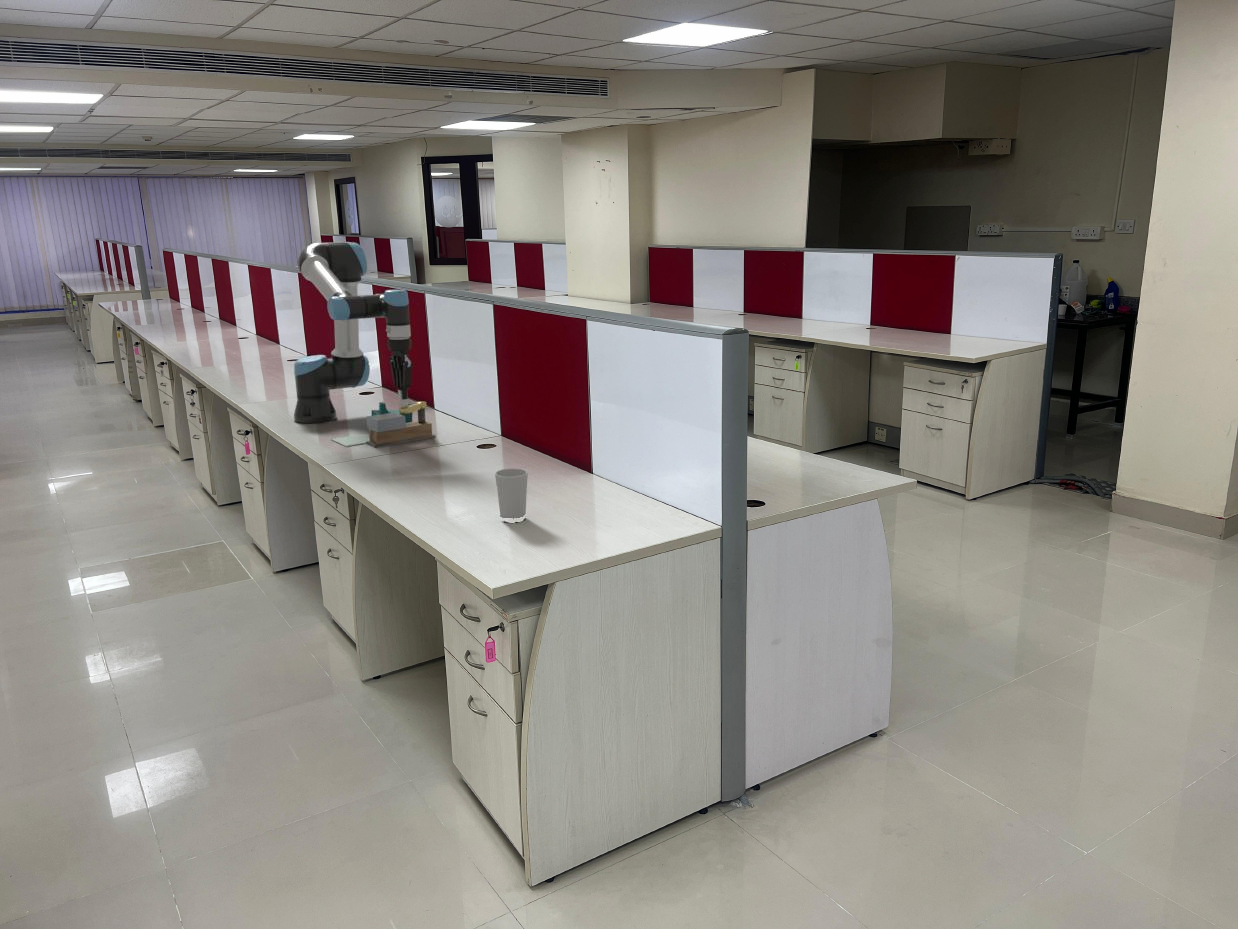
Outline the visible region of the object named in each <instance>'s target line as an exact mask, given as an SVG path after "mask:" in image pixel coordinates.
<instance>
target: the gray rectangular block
mask: <svg viewBox="0 0 1238 929" xmlns="http://www.w3.org/2000/svg"><path fill="white" fill-rule="evenodd" d="M366 427H367V428H366V429H368V430H369V429H370V430H373V431H375V432H384V431H390V430H397V429H403V428H406V421H405V416H403V415H400V414H397V413H387V414H381V415H374V416H371V415H368V416H366Z"/></svg>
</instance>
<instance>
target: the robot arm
mask: <svg viewBox="0 0 1238 929" xmlns="http://www.w3.org/2000/svg"><path fill="white" fill-rule="evenodd" d="M297 266H298V270H299V273H300V274H301V275H302V276H303V278H305V279H304V280H306V281H310V282H311V283H312V284H313V285H314V287H315V288H316V290H318V291H319V293H320V294H321V295H322V296H323V297H324V299H325V300H326V301H327V305H326V306H327V312H328V314H329V315H328V316H329V317H330V319H332V320H333V322H334V324H333V325H334V327H333V328H334V343H335V344H334V346H335V347H334V348H333V350H332V351H331V353H330V355H331V356H330V358H328V357H327V356H326V355H324V354H316V355H310V356H304V357H302V358H299V359H296V361H295V362H294V364H293V365H294V367H293V369H294V370H293V371H294V372H293V374H294V380H295V390H296V404H295V408H294V412H293V419H294V421H295V422H296V423H301V424H316V423H318V424H320V423H326V422H331V421H333V420H336V419H337V417H338V415H337V411H336V408H335V406H334V403H333V402H332V399H331V394H330V392H331V391H330V390H340V389H349V388H350V389H352V388H353V389H354V388H357V387H362V386H365V385H366V384H367V383H368V380H369V378H370V369H371V368H370V366H371V365H370V360H369V358H368V357H367V356H366V355H365V354H364V351H363V350H361V349H360V336H359V335H360V332H359V320H362V319H363V320H364V319H378V318H379V319H380V318H385V325H386V329H385V332H386V337H387V350H388V351H391V356H390V357H389V356H388V363H389V365H390V370H391V376H392V381H393V382H392V383H393V386H394V387H395V388H396V389H397V396H398V397H397V398H398V409H399V408H403V407H406V406H408V402H409V397H408V390H409V389H411V388H412V369H413V365H414V362H413V360H410V359H409V358H410V357H409V354H408V353H409V352H408V351H411V350H412V339H411V336H412V334H411V333H412V332H411V323H410V320H411V319H410V306H409V305H410V301H409V295H408V294H409V293H408V291H407V290H405V289H386V290H384V293H376V294H366V295H365V294H364V295H363V294H362V295H359V294H358V285H359V284H360V283H362V276H364V275H366V274H367V272H368V261H367V256H366V253H365V252H364V250H363V248H362V246H361V245H360V244H359V243H357V242H353V241H352V242H350V241H341V242H340V241H339V242H334V241H333V242H315V243H311V244H309V245H307V246H306V247H305V248H303V250H302V251H301V252H300V254H299V256H298V259H297Z"/></svg>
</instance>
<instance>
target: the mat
mask: <svg viewBox="0 0 1238 929" xmlns="http://www.w3.org/2000/svg"><path fill="white" fill-rule="evenodd" d="M331 441H332V442H335V443H337V444H339V445H340V446H344V447H345V448H347V447H348V448H349V447H355V446H361V445H367V444H366V441H370V439H369V434H367V433H363V434H357V435H350V436H344V437H337V438H331Z"/></svg>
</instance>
